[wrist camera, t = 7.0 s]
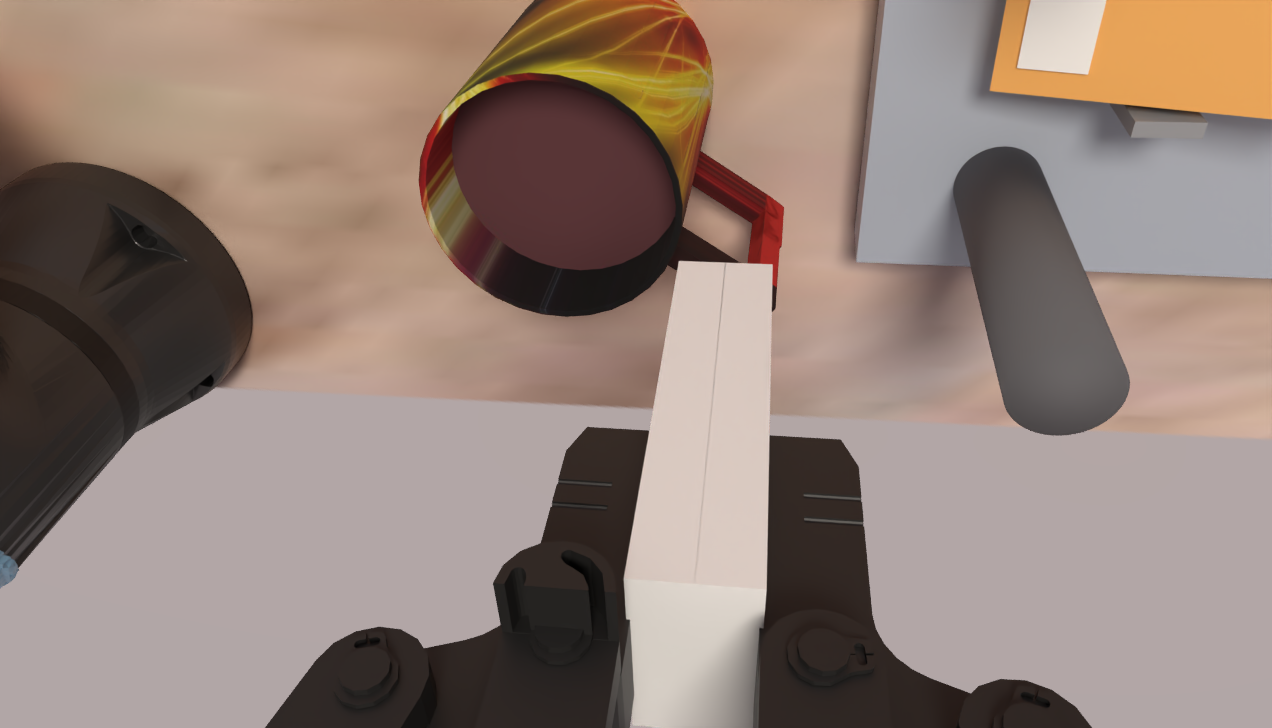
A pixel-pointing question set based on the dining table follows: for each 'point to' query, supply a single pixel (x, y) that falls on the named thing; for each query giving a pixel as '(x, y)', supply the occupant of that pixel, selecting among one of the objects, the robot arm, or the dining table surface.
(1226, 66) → the paddle
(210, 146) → the dining table surface
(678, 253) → the mug
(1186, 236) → the panel
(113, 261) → the robot arm
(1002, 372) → the cylinder
